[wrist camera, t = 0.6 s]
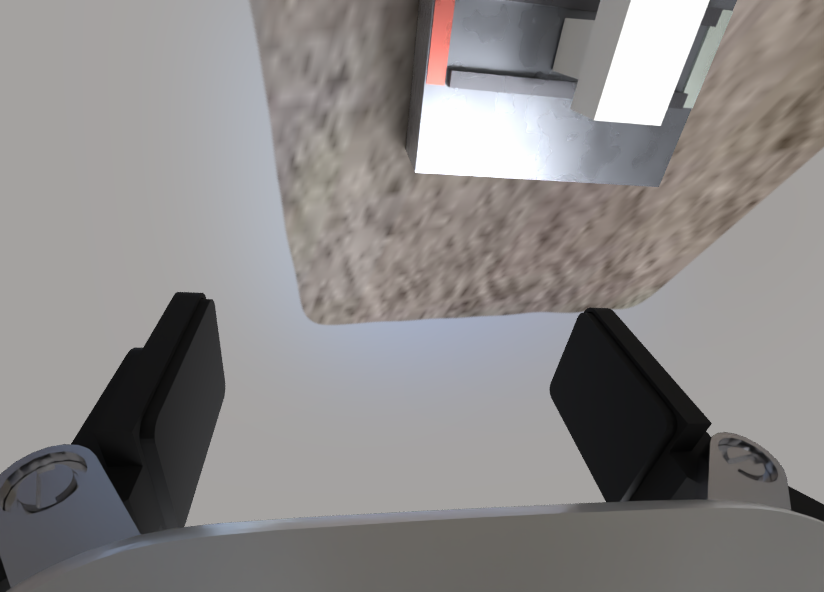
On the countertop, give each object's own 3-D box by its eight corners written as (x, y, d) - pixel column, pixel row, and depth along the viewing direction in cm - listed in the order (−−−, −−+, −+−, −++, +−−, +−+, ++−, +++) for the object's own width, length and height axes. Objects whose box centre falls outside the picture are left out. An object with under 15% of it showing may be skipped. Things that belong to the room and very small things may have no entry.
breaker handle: (564, -12, 27) (636, -16, 20) (623, -4, 28) (711, -6, 21) (539, 94, 30) (593, 120, 24) (592, 99, 31) (660, 125, 24)
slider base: (432, -143, 27) (455, -180, 22) (712, -93, 31) (797, -114, 25) (405, 149, 37) (417, 177, 32) (620, 164, 40) (666, 191, 35)
